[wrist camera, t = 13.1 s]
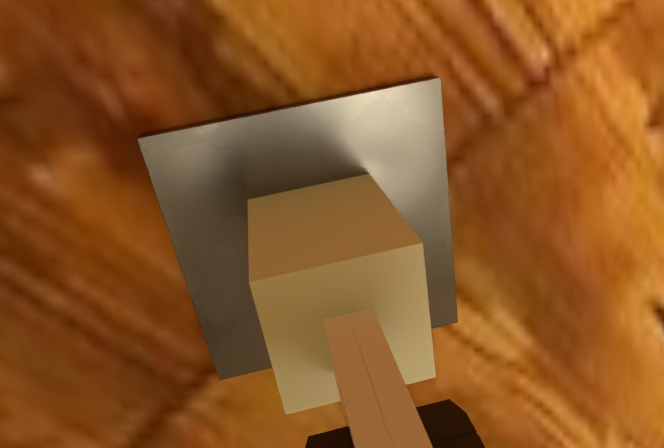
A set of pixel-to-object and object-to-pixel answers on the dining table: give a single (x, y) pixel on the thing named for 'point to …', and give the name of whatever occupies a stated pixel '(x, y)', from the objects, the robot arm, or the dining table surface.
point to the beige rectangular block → (335, 282)
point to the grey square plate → (289, 174)
